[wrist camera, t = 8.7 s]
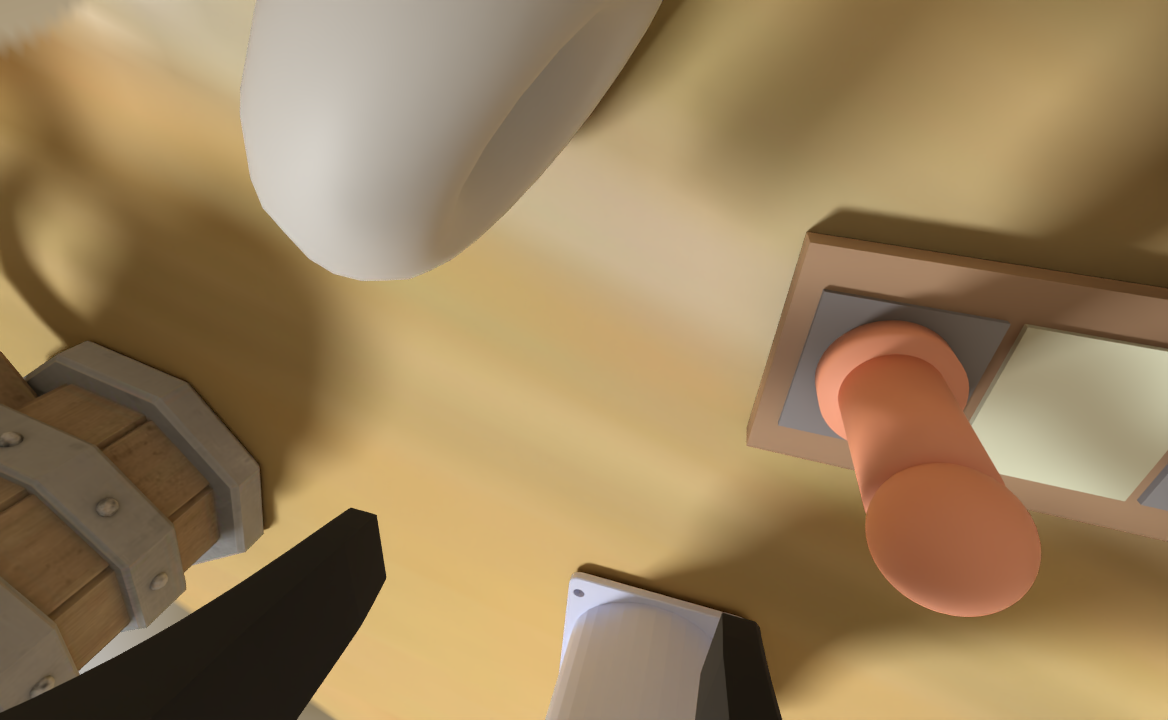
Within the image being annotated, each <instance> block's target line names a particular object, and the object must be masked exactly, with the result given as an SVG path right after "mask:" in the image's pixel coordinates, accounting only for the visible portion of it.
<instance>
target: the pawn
mask: <svg viewBox="0 0 1168 720" xmlns="http://www.w3.org/2000/svg"><path fill="white" fill-rule="evenodd" d="M815 387H816V392H817V398H818V403H819V407H820V411H821V414H822V416H823V418H824V420H825V422H826V423H827V424H828V426H829V427H830V428H831V429H832V430H833V431H834V432H835V433H836V434H837V435H839V436H840V437H842V438H843V439H845V440H847V441H848V445H849V449H850V453H851V457H852V461H853V465H854V469H855V473H856V477H857V481H858V485H859V489H860V493H861V498H862V502H863V506H864V509H865V512H866V522H865V532H866V539H867V544H868V547H869V550H870V553H871V555H872V558H873V560H874V562H875V564H876V565H877V567H878V568H879V570H880V571H881V573H882V574H883V575H884V577H885V578H886V579H887V580H888V581H889V582H890V583H891V584H892V585H893V586H894V587H895V588H896V589H897V590H898V591H899V592H900V593H902V594H903V595H905V596H906V597H907V598H909V599H910V600H912V601H913V602H915V603H917V604H919V605H921V606H923V607H925V608H928V609H930V610H933V611H936V612H939V613H943V614H948V615H952V616H961V617H976V616H984V615H989V614H993V613H996V612H999V611H1002V610H1004V609H1006V608H1008V607H1010V606H1011V605H1013V604H1015V603H1016V602H1017V601H1019V600H1020V599H1021V598H1022V597H1023V596H1024V595H1025V594H1026V593H1027V592H1028V591H1029V589H1030V588H1031V586H1032V585H1033V583H1034V581H1035V579H1036V577H1037V574H1038V572H1039V567H1040V562H1041V543H1040V539H1039V535H1038V531H1037V528H1036V525H1035V523H1034V521H1033V519H1032V517H1031V515H1030V513H1029V512H1028V511H1027V509H1026V508H1025V506H1024V505H1023V504H1022V502H1021V501H1020V500H1019V499H1018V498H1017V497H1016V496H1015V495H1014V494H1013V493H1012V492H1011V491H1010V490H1009V489H1008V488H1006V486H1005V484H1004V482H1003V480H1002V478H1001V476H1000V474H999V473H998V471H997V469H996V467H995V466H994V464H993V462H992V460H991V459H990V457H989V455H988V454H987V452H986V450H985V448H984V447H983V445H982V443H981V442H980V440H979V438H978V436H977V435H976V433H975V431H974V430H973V428H972V426H971V424H970V423H969V421H968V419H967V417H966V416H965V414H964V412H963V410H964V408H965V406H966V404H967V400H968V396H969V381H968V377H967V374H966V372H965V370H964V368H963V366H962V364H961V363H960V361H959V360H958V358H957V357H956V355H955V354H954V352H953V351H952V349H951V348H950V346H949V345H948V344H947V342H946V341H945V340H944V339H943V338H942V337H941V336H940V335H938V334H937V333H935V332H934V331H932V330H930V329H929V328H927V327H924V326H922V325H919V324H916V323H912V322H907V321H899V320H887V321H877V322H872V323H868V324H865V325H862V326H859V327H857V328H854V329H852V330H850V331H848V332H846V333H845V334H843V335H842V336H840V337H839V338H837V339H836V340H835V341H834V342H833V343H832V344H831V345H830V346H829V347H828V348H827V349H826V350H825V352H824V353H823V355H822V356H821V358H820V360H819V362H818V365H817V368H816V372H815Z"/></svg>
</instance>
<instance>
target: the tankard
mask: <svg viewBox="0 0 1168 720" xmlns="http://www.w3.org/2000/svg"><path fill="white" fill-rule="evenodd" d="M263 534H264V532H263V516H262V500H261V483H260V468H259V464H258V463H257V461H256V460H255V459H254V458H253V457H252V456H251V455H250V453H249V452H248V451H247V450H246V449H245V448H244V446H243V445H242V444H241V443H240V442H239V441H238V440H237V438H236V437H235V436H234V435H233V434H232V433H231V431H230V430H229V429H228V428H227V427H226V426H225V425H224V423H223V422H222V421H221V420H220V419H219V418H218V416H217V415H216V414H215V413H214V412H213V411H212V410H211V408H210V407H209V406H208V405H207V404H206V403H205V401H204V400H203V399H202V398H201V397H200V396H199V395H198V393H197V392H196V391H195V390H194V389H193V388H192V386H191V385H190V384H189V383H188V382H185V381H183V380H181V379H178V378H176V377H173V376H171V375H169V374H166V373H164V372H162V371H159V370H157V369H155V368H152V367H150V366H148V365H145V364H143V363H141V362H138V361H136V360H134V359H131V358H129V357H127V356H124V355H122V354H120V353H117V352H115V351H113V350H110V349H108V348H105V347H103V346H101V345H98V344H96V343H93V342H90V341H85V342H83V343H81V344H79V345H76V346H74V347H72V348H70V349H67V350H65V351H63V352H61V353H58V354H57V355H55V356H54V357H52V358H51V359H50V360H48V361H47V362H45V363H44V364H42V365H41V366H39V367H38V368H37V369H35V370H34V371H32V372H31V373H29V374H28V375H26V376H25V377H22V376H21V375H20V374H19V372H18V371H17V370H16V369H15V368H14V366H13V365H12V364H11V363H10V362H9V360H8V359H7V358H6V357H5V356H4V354H3V353H2V352H0V712H3V711H5V710H7V709H9V708H12V707H14V706H16V705H18V704H21V703H23V702H25V701H27V700H30V699H32V698H34V697H36V696H38V695H40V694H42V693H44V692H46V691H48V690H50V689H52V688H54V687H56V686H58V685H60V684H62V683H65V682H67V681H69V680H71V679H73V678H75V677H77V676H79V675H80V674H79V672H78V671H79V670H80V669H81V668H82V667H83V666H84V665H85V664H87V663H88V662H89V661H90V660H91V659H92V658H93V657H94V656H95V655H96V654H97V653H98V652H99V651H101V650H102V649H103V648H104V647H105V646H106V645H107V644H108V643H109V642H110V641H111V640H112V639H113V638H114V637H115V636H117V635H118V634H119V633H120V632H124V631H129V630H135V629H141V628H147V627H148V626H149V625H150V624H151V623H152V622H153V621H154V620H155V619H156V618H157V617H158V616H159V615H160V614H161V613H162V612H163V611H164V610H165V609H166V608H168V607H169V606H170V604H172V603H173V602H174V601H175V600H176V599H177V598H178V597H179V596H180V595H181V594H182V593H183V592H184V591H185V590H186V581H185V576H184V572H185V571H186V570H187V569H188V568H189V567H191V566H192V565H195V564H199V563H203V562H207V561H211V560H215V559H219V558H223V557H227V556H231V555H235V554H239V553H243V552H246V551H247V550H248V549H249V548H250V547H251V546H252V545H253V544H254V543H255V542H256V541H257V540H258V539H259V538H260V537H261V536H262V535H263Z"/></svg>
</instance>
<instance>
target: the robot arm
mask: <svg viewBox="0 0 1168 720" xmlns="http://www.w3.org/2000/svg"><path fill="white" fill-rule="evenodd" d="M385 580H386V572H385V566H384V559H383V553H382V546H381V540H380V534H379V527H378V521H377V515H375V514H372V513H368V512H365V511H361V510H357V509H354V508H350V509H348V510H346V511H345V512H343V513H342V514H340V515H339V516H338V517H336V518H335V519H333V520H332V521H330V522H329V523H327V524H326V525H324V526H323V527H322V528H320V529H319V530H317V531H316V532H314V533H313V534H312V535H310V536H309V537H307V538H306V539H304V540H303V541H302V542H300V543H299V544H297V545H296V546H294V547H293V548H291V549H290V550H289V551H287V552H286V553H284V554H283V555H281V556H280V557H278V558H277V559H275V560H274V561H272V562H271V563H269V564H268V565H266V566H265V567H263V568H262V569H260V570H259V571H257V572H256V573H254V574H253V575H251V576H250V577H248V578H247V579H245V580H244V581H242V582H241V583H239V584H238V585H236V586H235V587H233V588H232V589H230V590H229V591H227V592H225V593H224V594H222V595H221V596H219V597H217V598H216V599H214V600H212V601H211V602H209V603H208V604H206V605H204V606H203V607H201V608H200V609H198V610H196V611H195V612H193V613H192V614H190V615H188V616H187V617H185V618H184V619H182V620H180V621H178V622H177V623H175V624H173V625H172V626H170V627H168V628H167V629H165V630H163V631H161V632H159V633H158V634H156V635H154V636H152V637H151V638H149V639H147V640H145V641H143V642H142V643H140V644H138V645H136V646H134V647H132V648H131V649H129V650H127V651H125V652H123V653H122V654H120V655H118V656H116V657H115V658H112V659H110V660H108V661H106V662H104V663H102V664H100V665H98V666H96V667H95V668H93V669H91V670H89V671H87V672H85V673H83V674H81V675H79V676H77V677H75V678H73V679H71V680H69V681H67V682H65V683H62V684H60V685H58V686H56V687H54V688H52V689H50V690H48V691H46V692H44V693H42V694H40V695H38V696H36V697H34V698H32V699H30V700H27V701H25V702H23V703H21V704H18V705H16V706H14V707H12V708H9V709H7V710H5V711H3V712H0V720H297V718H298V717H299V715H300V714H301V713H302V711H303V710H304V708H305V707H306V705H307V704H308V702H309V701H310V700H311V698H312V697H313V695H314V694H315V692H316V691H317V689H318V688H319V687H320V685H321V684H322V682H323V681H324V679H325V678H326V676H327V675H328V674H329V672H330V671H331V669H332V668H333V666H334V665H335V663H336V662H337V660H338V659H339V658H340V656H341V655H342V653H343V652H344V650H345V649H346V647H347V646H348V644H349V643H350V641H351V640H352V638H353V637H354V635H355V634H356V632H357V631H358V629H359V628H360V626H361V625H362V623H363V621H364V619H365V618H366V616H367V614H368V612H369V610H370V609H371V607H372V605H373V603H374V601H375V599H376V597H377V595H378V593H379V591H380V590H381V588H382V586H383V584H384V582H385ZM545 720H782V717H781V714H780V710H779V707H778V703H777V700H776V696H775V692H774V689H773V685H772V681H771V677H770V673H769V669H768V665H767V661H766V656H765V652H764V647H763V643H762V638H761V632H760V627H759V626H758V625H757V623H756V622H754V621H751V620H747V619H744V618H742V617H739V616H736V615H732V614H729V613H725V612H721V611H718V610H714V609H711V608H707V607H704V606H700V605H697V604H693V603H690V602H686V601H682V600H679V599H675V598H672V597H668V596H665V595H661V594H658V593H654V592H651V591H647V590H643V589H640V588H636V587H633V586H629V585H626V584H622V583H619V582H615V581H612V580H608V579H604V578H601V577H597V576H594V575H590V574H587V573H583V572H575V573H574V574H572V576H571V579H570V582H569V590H568V599H567V608H566V617H565V626H564V634H563V643H562V652H561V661H560V670H559V675H558V679H557V682H556V685H555V688H554V692H553V695H552V698H551V702H550V705H549V708H548V712H547V715H546V718H545Z"/></svg>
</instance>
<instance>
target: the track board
mask: <svg viewBox="0 0 1168 720" xmlns="http://www.w3.org/2000/svg"><path fill="white" fill-rule="evenodd" d="M887 320H899V321H907V322H912V323H916V324H919V325H922V326H924V327H927V328H929V329H930V330H932V331H934V332H935V333H937V334H938V335H940V336H941V337H942V338H943V339H944V340H945V341H946V342H947V344H948V345H949V346H950V348H951V349H952V351H953V352H954V354H955V355H956V357H957V358H958V360H959V361H960V363H961V364H962V366H963V368H964V370H965V372H966V374H967V377H968V381H969V396H968V400H967V404H966V406H965V408H964V410H963V412H964V414H965V416H966V417H967V419H968V421H969V423H970V424H971V426H972V428H973V430H974V431H975V433H976V435H977V436H978V438H979V440H980V442H981V443H982V445H983V447H984V448H985V450H986V452H987V454H988V455H989V457H990V459H991V460H992V462H993V464H994V466H995V467H996V469H997V471H998V473H999V474H1000V476H1001V478H1002V480H1003V482H1004V484H1005V486H1006V488H1008V489H1009V490H1010V491H1011V492H1012V493H1013V494H1014V495H1015V496H1016V497H1017V498H1018V499H1019V500H1020V501H1021V502H1022V504H1023V505H1024V506H1025V508H1026V509H1027V510H1031V511H1035V512H1040V513H1044V514H1048V515H1053V516H1057V517H1062V518H1066V519H1070V520H1075V521H1079V522H1084V523H1088V524H1092V525H1097V526H1101V527H1105V528H1110V529H1114V530H1119V531H1123V532H1127V533H1132V534H1136V535H1141V536H1145V537H1149V538H1154V539H1158V540H1163V541H1167V542H1168V288H1162V287H1155V286H1149V285H1143V284H1136V283H1130V282H1124V281H1117V280H1111V279H1105V278H1098V277H1092V276H1086V275H1079V274H1073V273H1067V272H1060V271H1054V270H1047V269H1041V268H1035V267H1028V266H1022V265H1016V264H1009V263H1003V262H997V261H990V260H984V259H978V258H971V257H965V256H958V255H952V254H946V253H939V252H933V251H927V250H920V249H914V248H908V247H901V246H895V245H889V244H882V243H876V242H869V241H863V240H857V239H850V238H844V237H838V236H831V235H825V234H819V233H812V232H807V233H806V236H805V239H804V242H803V246H802V249H801V252H800V255H799V259H798V262H797V265H796V268H795V272H794V275H793V278H792V282H791V285H790V288H789V291H788V295H787V298H786V301H785V304H784V308H783V311H782V314H781V318H780V321H779V324H778V327H777V331H776V334H775V337H774V340H773V344H772V347H771V350H770V354H769V357H768V360H767V363H766V367H765V370H764V373H763V376H762V380H761V383H760V386H759V389H758V393H757V396H756V399H755V403H754V406H753V409H752V412H751V416H750V419H749V422H748V425H747V446H750V447H754V448H759V449H763V450H767V451H772V452H776V453H780V454H785V455H789V456H794V457H798V458H802V459H807V460H811V461H816V462H820V463H824V464H829V465H833V466H838V467H842V468H846V469H851V470H855V469H854V465H853V461H852V457H851V453H850V449H849V445H848V441H847V440H845V439H843V438H842V437H840V436H839V435H837V434H836V433H835V432H834V431H833V430H832V429H831V428H830V427H829V426H828V424H827V423H826V422H825V420H824V418H823V416H822V414H821V411H820V407H819V403H818V398H817V392H816V387H815V372H816V368H817V365H818V362H819V360H820V358H821V356H822V355H823V353H824V352H825V350H826V349H827V348H828V347H829V346H830V345H831V344H832V343H833V342H834V341H835V340H836V339H837V338H839V337H840V336H842V335H843V334H845V333H846V332H848V331H850V330H852V329H854V328H857V327H859V326H862V325H865V324H868V323H872V322H877V321H887Z"/></svg>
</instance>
